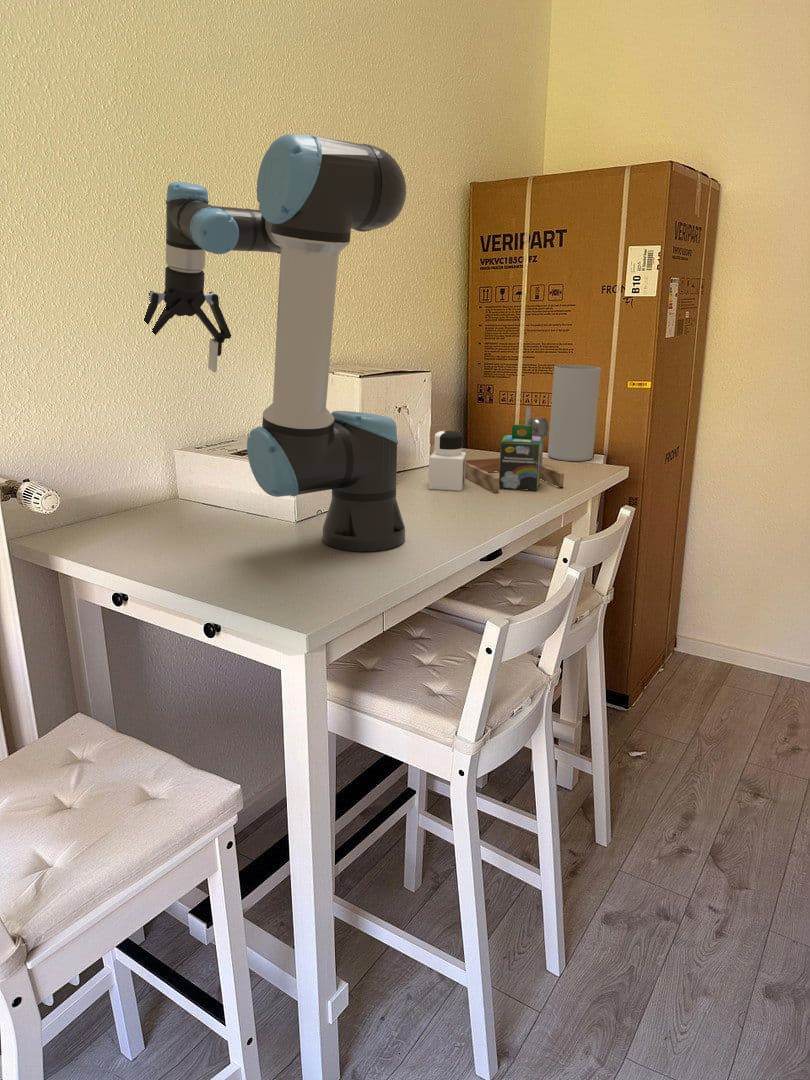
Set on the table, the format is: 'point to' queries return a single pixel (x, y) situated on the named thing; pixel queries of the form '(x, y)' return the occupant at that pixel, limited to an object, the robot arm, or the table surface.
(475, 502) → the table surface
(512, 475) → the chalk box
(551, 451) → the cylinder vase
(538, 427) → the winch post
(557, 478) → the bay
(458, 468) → the container
